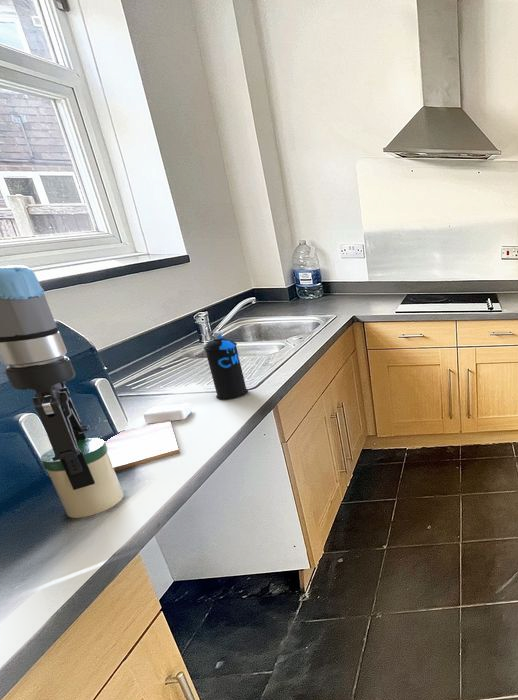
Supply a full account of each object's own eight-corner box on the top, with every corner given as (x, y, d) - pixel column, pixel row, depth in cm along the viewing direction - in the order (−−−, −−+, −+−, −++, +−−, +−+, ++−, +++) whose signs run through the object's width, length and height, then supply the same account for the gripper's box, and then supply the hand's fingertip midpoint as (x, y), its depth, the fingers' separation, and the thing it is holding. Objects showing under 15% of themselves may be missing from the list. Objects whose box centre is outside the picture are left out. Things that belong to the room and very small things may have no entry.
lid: (47, 457, 76) (43, 448, 76) (108, 441, 81) (104, 433, 81) (41, 476, 70) (37, 467, 70) (107, 458, 76) (104, 450, 75)
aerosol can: (209, 398, 125) (192, 334, 119) (233, 388, 133) (217, 327, 126) (232, 401, 124) (215, 336, 117) (254, 390, 131) (240, 329, 124)
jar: (68, 502, 80) (44, 450, 76) (123, 485, 85) (104, 435, 81) (65, 524, 74) (39, 469, 70) (124, 504, 79) (104, 452, 75)
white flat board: (99, 441, 102) (98, 437, 101) (171, 423, 111) (170, 419, 110) (97, 476, 88) (96, 472, 87) (179, 452, 97) (178, 448, 96)
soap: (192, 411, 117) (190, 401, 116) (184, 420, 112) (181, 410, 111) (154, 415, 114) (151, 406, 113) (145, 424, 110) (141, 414, 109)
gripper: (13, 351, 74) (61, 459, 82) (-11, 383, 60) (50, 512, 68) (72, 343, 79) (112, 446, 87) (63, 371, 65) (112, 492, 72)
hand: (85, 475), depth 77 cm, fingers closed on lid, 8 cm apart
